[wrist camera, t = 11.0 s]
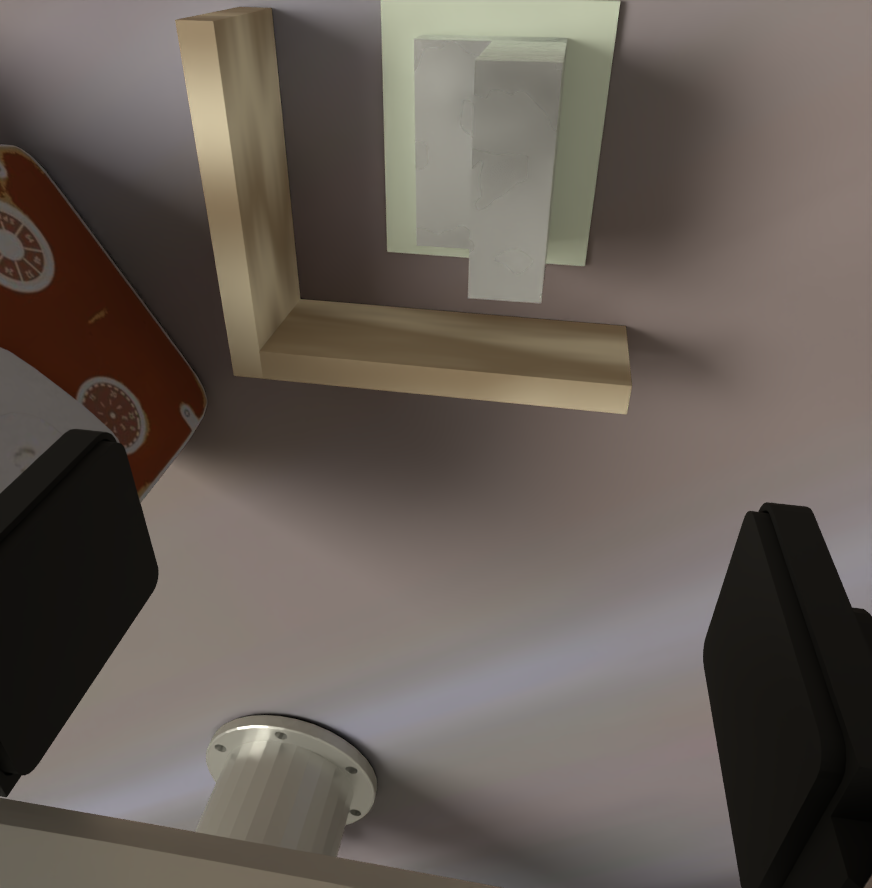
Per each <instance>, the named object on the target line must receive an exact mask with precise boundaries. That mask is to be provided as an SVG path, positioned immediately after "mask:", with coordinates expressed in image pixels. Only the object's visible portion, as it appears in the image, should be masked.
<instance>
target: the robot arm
mask: <svg viewBox="0 0 872 888" xmlns="http://www.w3.org/2000/svg"><path fill="white" fill-rule="evenodd" d="M157 580H158V566H157V562H156V558H155V555H154V551H153V547H152V544H151V540H150V536H149V533H148V529H147V526H146V522H145V518H144V515H143V511H142V507H141V504H140V500H139V496H138V493H137V489H136V485H135V482H134V478H133V475H132V471H131V467H130V464H129V460H128V456H127V453H126V450H125V447H124V446H123V445H122V444H121V443H118V442H117V441H116V439H115V437H114V436H113V435H112V434H110V433H108V432H102V431H92V430H83V429H70V430H69V431H67V432H65V433H64V434H63V435H62V436H61V437H60V438H59V439H58V440H57V441H56V442H55V443H54V444H52V445H51V446H50V447H49V448H48V449H47V450H46V451H45V452H44V453H43V454H42V455H41V456H40V457H39V458H38V459H36V460H35V461H34V462H33V463H32V464H31V465H30V466H29V467H28V468H27V469H26V470H25V471H24V472H23V473H21V474H20V475H19V476H18V477H17V478H16V479H15V480H14V481H13V482H12V483H11V484H10V485H9V486H8V487H7V488H5V489H4V490H3V491H2V492H1V493H0V796H3V797H7V796H8V795H9V793H10V792H11V790H12V789H13V787H14V786H15V784H16V783H17V781H18V780H19V778H20V777H21V775H26V774H29V773H30V772H31V771H33V770H34V769H35V767H36V766H37V765H38V764H39V762H40V761H41V759H42V758H43V756H44V755H45V753H46V752H47V750H48V749H49V747H50V746H51V744H52V743H53V741H54V740H55V738H56V737H57V735H58V734H59V732H60V731H61V729H62V728H63V726H64V725H65V723H66V722H67V720H68V719H69V717H70V716H71V714H72V713H73V711H74V710H75V708H76V707H77V705H78V704H79V702H80V701H81V699H82V698H83V696H84V695H85V693H86V692H87V690H88V689H89V687H90V686H91V684H92V683H93V681H94V680H95V678H96V677H97V675H98V674H99V672H100V671H101V669H102V668H103V666H104V665H105V663H106V662H107V660H108V659H109V657H110V656H111V654H112V653H113V651H114V650H115V648H116V647H117V645H118V644H119V642H120V641H121V639H122V638H123V636H124V635H125V633H126V632H127V630H128V629H129V627H130V626H131V624H132V623H133V621H134V620H135V618H136V617H137V615H138V614H139V612H140V611H141V609H142V608H143V606H144V605H145V603H146V602H147V600H148V599H149V597H150V596H151V594H152V593H153V591H154V589H155V587H156V584H157ZM703 663H704V670H705V676H706V682H707V688H708V694H709V700H710V706H711V711H712V717H713V723H714V729H715V735H716V741H717V747H718V753H719V759H720V765H721V770H722V776H723V782H724V788H725V794H726V800H727V806H728V812H729V818H730V824H731V829H732V835H733V841H734V847H735V853H736V859H737V865H738V871H739V877H740V883H741V887H742V888H872V616H871V615H870V614H869V613H868V612H867V611H866V610H864V609H859V608H852V607H851V604H850V602H849V599H848V597H847V594H846V592H845V589H844V587H843V585H842V582H841V580H840V577H839V575H838V572H837V570H836V567H835V565H834V563H833V560H832V558H831V555H830V553H829V550H828V548H827V545H826V543H825V541H824V538H823V536H822V533H821V531H820V528H819V526H818V523H817V521H816V519H815V516H814V514H813V512H812V510H811V509H810V508H808V507H805V506H795V505H786V504H777V503H764V504H763V505H762V506H761V508H760V510H759V512H754V511H749V512H747V514H746V515H745V517H744V520H743V523H742V526H741V529H740V532H739V536H738V539H737V542H736V545H735V548H734V551H733V554H732V557H731V560H730V564H729V567H728V570H727V573H726V576H725V579H724V582H723V585H722V588H721V592H720V595H719V598H718V601H717V604H716V607H715V610H714V613H713V616H712V620H711V623H710V626H709V629H708V632H707V635H706V638H705V642H704V649H703ZM206 762H207V766H208V769H209V772H210V773H211V775H212V777H213V779H214V780H215V782H216V785H215V787H214V789H213V791H212V794H211V796H210V798H209V801H208V803H207V805H206V807H205V810H204V812H203V814H202V817H201V819H200V821H199V823H198V826H197V828H196V830H195V832H193V831H187V830H181V829H176V828H170V827H165V826H159V825H153V824H148V823H142V822H136V821H130V820H125V819H119V818H113V817H107V816H102V815H96V814H90V813H84V812H78V811H73V810H67V809H61V808H55V807H50V806H44V805H38V804H32V803H27V802H21V801H15V800H9V799H3V798H0V888H502V887H496V886H491V885H485V884H480V883H475V882H469V881H464V880H458V879H453V878H447V877H442V876H437V875H431V874H426V873H420V872H415V871H409V870H404V869H399V868H393V867H388V866H382V865H377V864H371V863H366V862H360V861H355V860H349V859H344V858H338V857H337V855H338V851H339V847H340V844H341V840H342V836H343V833H344V829H345V825H348V824H351V823H354V822H356V821H357V820H359V819H361V818H363V817H364V816H365V815H366V814H367V813H368V812H369V811H370V810H371V808H372V806H373V804H374V800H375V796H376V792H377V778H376V776H375V773H374V770H373V768H372V767H371V765H370V764H369V762H368V761H367V759H366V758H365V757H364V756H363V755H362V754H361V753H360V752H359V751H358V750H357V749H356V748H355V747H354V746H352V745H351V744H350V743H348V742H347V741H346V740H344V739H343V738H341V737H339V736H337V735H336V734H334V733H332V732H330V731H328V730H326V729H324V728H321V727H319V726H317V725H314V724H311V723H308V722H305V721H302V720H298V719H294V718H288V717H283V716H273V715H255V716H247V717H243V718H238V719H235V720H233V721H230V722H228V723H226V724H224V725H223V726H222V727H221V728H219V729H218V730H217V731H216V733H215V734H214V736H213V738H212V740H211V742H210V744H209V747H208V749H207V752H206Z"/></svg>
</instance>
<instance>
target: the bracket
mask: <svg viewBox="0 0 872 888" xmlns="http://www.w3.org/2000/svg"><path fill="white" fill-rule="evenodd" d="M566 49H567V38H556V37H510V36H464V35H420V36H418V37H417V38H415V39H414V86H415V165H416V244H417V246H429V247H445V248H461V249H469V276H468V298H472V299H486V300H500V301H514V302H528V303H541V300H542V292H543V284H544V276H545V268H546V260H547V252H548V243H549V233H550V223H551V212H552V201H553V190H554V179H555V168H556V157H557V147H558V136H559V125H560V114H561V103H562V92H563V81H564V71H565V60H566Z"/></svg>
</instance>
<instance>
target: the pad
mask: <svg viewBox="0 0 872 888" xmlns="http://www.w3.org/2000/svg"><path fill="white" fill-rule="evenodd" d="M619 8H620V1H610V0H381V31H382V70H383V109H384V148H385V187H386V226H387V252H396V253H410V254H424V255H437V256H451V257H464V258H469V249H461V248H445V247H429V246H417V244H416V165H415V86H414V39H415V38H417V37H418V36H420V35H464V36H510V37H556V38H567V49H566V60H565V71H564V81H563V92H562V103H561V114H560V125H559V136H558V147H557V157H556V168H555V179H554V190H553V201H552V212H551V223H550V233H549V243H548V252H547V260H546V264H560V265H574V266H585V261H586V253H587V246H588V238H589V231H590V224H591V216H592V209H593V201H594V194H595V186H596V179H597V171H598V164H599V157H600V149H601V142H602V134H603V127H604V119H605V112H606V105H607V97H608V90H609V82H610V75H611V67H612V60H613V52H614V45H615V38H616V30H617V23H618V15H619Z"/></svg>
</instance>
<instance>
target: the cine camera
mask: <svg viewBox="0 0 872 888" xmlns="http://www.w3.org/2000/svg"><path fill="white" fill-rule="evenodd" d="M206 407H207V397H206V393H205V390H204V387H203V386H202V384H201V382H200V380H199V378H198V376H197V375H196V374H195V372H194V371H193V369H192V368H191V366H190V365H189V364H188V362H187V361H186V359H185V358H184V357H183V355H182V354H181V352H180V351H179V350H178V348H177V347H176V345H175V344H174V343H173V341H172V340H171V339H170V337H169V336H168V335H167V333H166V332H165V331H164V329H163V328H162V327H161V325H160V324H159V322H158V321H157V320H156V318H155V317H154V316H153V314H152V313H151V312H150V310H149V309H148V308H147V306H146V305H145V304H144V302H143V301H142V299H141V298H140V297H139V295H138V294H137V293H136V291H135V290H134V289H133V287H132V286H131V285H130V283H129V282H128V281H127V279H126V278H125V276H124V275H123V274H122V272H121V271H120V270H119V268H118V267H117V266H116V264H115V263H114V262H113V260H112V259H111V258H110V256H109V255H108V253H107V252H106V251H105V249H104V248H103V247H102V245H101V244H100V243H99V241H98V240H97V239H96V237H95V236H94V235H93V233H92V232H91V231H90V229H89V228H88V226H87V225H86V224H85V222H84V221H83V220H82V218H81V217H80V216H79V214H78V213H77V212H76V210H75V209H74V208H73V206H72V205H71V203H70V202H69V201H68V199H67V198H66V197H65V195H64V194H63V193H62V192H61V190H60V189H59V188H58V186H57V185H56V184H55V182H54V181H53V180H52V179H51V177H50V176H49V175H48V173H47V172H46V171H45V170H44V169H43V167H42V166H41V165H40V164H39V163H38V162H37V161H36V160H35V159H34V158H33V157H32V156H31V155H29V154H28V153H27V152H25V151H24V150H22V149H21V148H19V147H17V146H14V145H3V144H0V493H1V492H2V491H3V490H4V489H5V488H7V487H8V486H9V485H10V484H11V483H12V482H13V481H14V480H15V479H16V478H17V477H18V476H19V475H20V474H21V473H23V472H24V471H25V470H26V469H27V468H28V467H29V466H30V465H31V464H32V463H33V462H34V461H35V460H36V459H38V458H39V457H40V456H41V455H42V454H43V453H44V452H45V451H46V450H47V449H48V448H49V447H50V446H51V445H52V444H54V443H55V442H56V441H57V440H58V439H59V438H60V437H61V436H62V435H63V434H64V433H65V432H67V431H69V430H70V429H83V430H92V431H102V432H108V433H110V434H112V435H113V436H114V437H115V439H116V441H117V442H118V443H121V444H122V445H123V446H124V447H125V450H126V453H127V456H128V460H129V464H130V467H131V471H132V475H133V478H134V482H135V485H136V489H137V493H138V496H139V500H140V503H141V502H142V500H143V499H144V498H145V497H146V495H147V494H148V493H149V492H150V490H151V489H152V488H153V486H154V485H155V484H156V483H157V481H158V480H159V479H160V478H161V476H162V475H163V474H164V473H165V471H166V470H167V469H168V467H169V466H170V465H171V463H172V462H173V461H174V459H175V458H176V457H177V455H178V454H179V453H180V452H181V450H182V449H183V448H184V446H185V445H186V444H187V442H188V441H189V440H190V438H191V436H192V435H193V433H194V432H195V430H196V428H197V427H198V425H199V423H200V422H201V420H202V419H203V417H204V414H205V410H206Z"/></svg>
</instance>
